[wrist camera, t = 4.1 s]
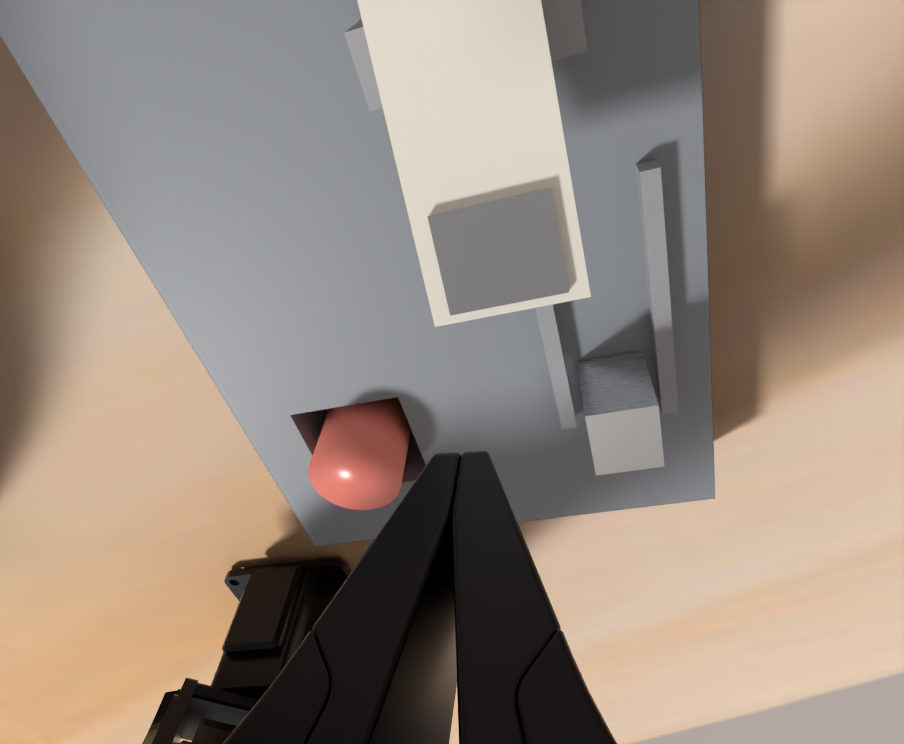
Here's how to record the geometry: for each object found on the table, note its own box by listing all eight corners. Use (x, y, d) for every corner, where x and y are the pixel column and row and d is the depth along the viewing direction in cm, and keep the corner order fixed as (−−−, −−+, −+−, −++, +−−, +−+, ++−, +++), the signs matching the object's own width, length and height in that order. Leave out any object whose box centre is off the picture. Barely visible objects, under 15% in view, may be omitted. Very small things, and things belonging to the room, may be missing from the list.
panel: (698, 450, 25) (728, 536, 21) (328, 500, 28) (304, 581, 25) (657, -339, 12) (713, -430, 9) (3, -79, 16) (-133, -76, 12)
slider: (648, 409, 20) (664, 466, 18) (587, 419, 21) (595, 475, 19) (641, 351, 19) (659, 405, 17) (576, 362, 19) (585, 416, 17)
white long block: (587, 285, 13) (591, 298, 12) (445, 313, 14) (433, 328, 13) (494, -270, 11) (484, -339, 9) (326, -204, 12) (293, -258, 10)
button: (424, 427, 25) (412, 504, 22) (351, 439, 26) (329, 515, 22) (400, 364, 23) (383, 438, 20) (321, 379, 24) (293, 452, 21)
